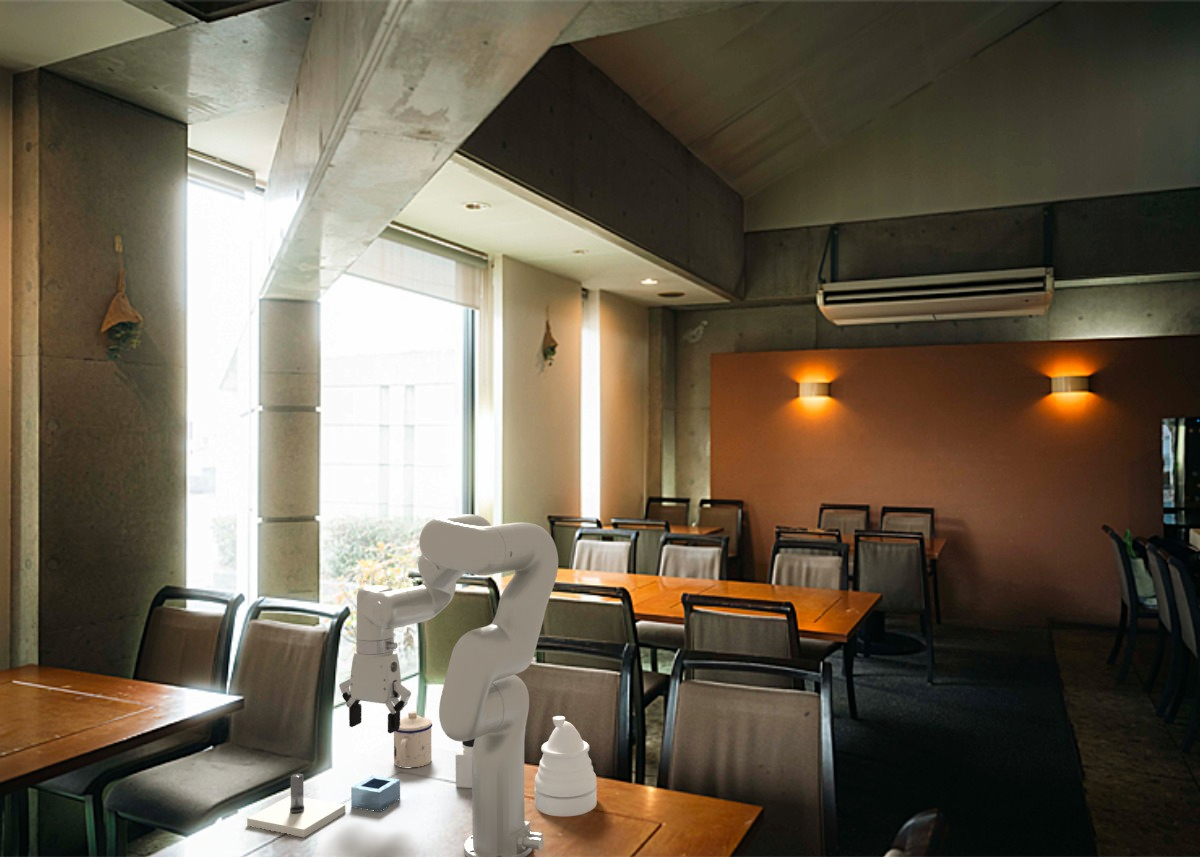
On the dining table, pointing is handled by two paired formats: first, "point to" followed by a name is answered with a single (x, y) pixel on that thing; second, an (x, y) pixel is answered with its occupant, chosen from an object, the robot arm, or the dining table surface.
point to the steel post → (297, 794)
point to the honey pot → (565, 773)
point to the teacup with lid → (413, 741)
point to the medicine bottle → (464, 765)
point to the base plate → (296, 816)
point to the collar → (375, 793)
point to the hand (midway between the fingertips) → (374, 728)
